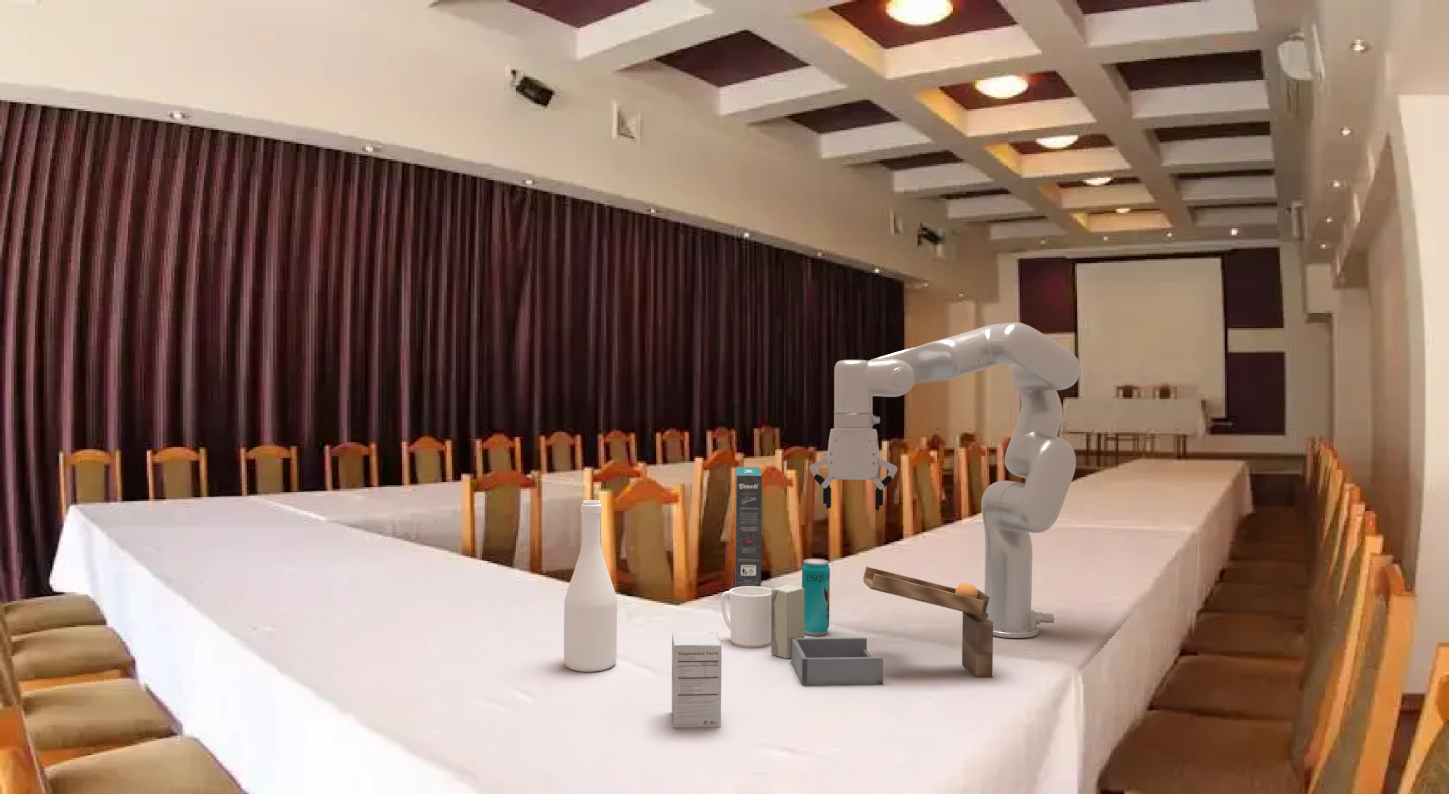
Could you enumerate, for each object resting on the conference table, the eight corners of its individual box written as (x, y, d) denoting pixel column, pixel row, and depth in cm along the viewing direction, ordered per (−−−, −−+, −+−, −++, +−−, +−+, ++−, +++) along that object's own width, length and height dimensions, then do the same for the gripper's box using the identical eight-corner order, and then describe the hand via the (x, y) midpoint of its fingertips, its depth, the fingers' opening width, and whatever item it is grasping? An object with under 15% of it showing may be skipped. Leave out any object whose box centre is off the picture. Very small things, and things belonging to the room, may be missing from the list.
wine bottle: (573, 676, 162) (574, 505, 162) (557, 661, 171) (558, 499, 170) (624, 669, 166) (625, 502, 166) (605, 655, 175) (607, 496, 174)
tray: (865, 661, 172) (865, 637, 172) (882, 684, 159) (883, 658, 159) (791, 662, 171) (791, 638, 171) (802, 685, 158) (802, 659, 158)
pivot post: (976, 663, 172) (977, 596, 172) (992, 677, 164) (993, 607, 164) (960, 663, 172) (961, 596, 172) (975, 677, 164) (976, 607, 163)
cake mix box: (760, 602, 218) (761, 475, 218) (735, 602, 219) (736, 475, 218) (758, 582, 240) (759, 467, 240) (735, 582, 240) (736, 467, 240)
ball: (969, 605, 169) (976, 584, 169) (977, 610, 165) (984, 589, 165) (949, 598, 169) (956, 577, 169) (956, 603, 165) (963, 582, 165)
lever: (958, 599, 179) (963, 579, 179) (987, 619, 164) (993, 597, 164) (852, 572, 178) (857, 552, 178) (871, 591, 162) (876, 569, 162)
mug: (778, 639, 187) (779, 588, 187) (766, 651, 179) (766, 597, 179) (727, 633, 191) (727, 584, 191) (712, 645, 182) (713, 593, 182)
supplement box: (670, 711, 145) (671, 631, 145) (717, 710, 146) (718, 630, 146) (672, 729, 138) (672, 644, 138) (721, 728, 139) (722, 644, 138)
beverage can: (827, 637, 188) (828, 564, 188) (799, 635, 190) (800, 563, 189) (830, 630, 194) (831, 559, 194) (803, 628, 195) (803, 557, 195)
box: (787, 649, 180) (788, 583, 180) (805, 654, 177) (805, 587, 176) (769, 655, 176) (770, 587, 176) (786, 660, 173) (787, 591, 173)
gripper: (897, 421, 185) (897, 507, 185) (811, 421, 188) (811, 504, 189) (897, 423, 178) (896, 512, 178) (807, 422, 181) (807, 509, 181)
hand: (853, 508), depth 183 cm, fingers open, 9 cm apart
